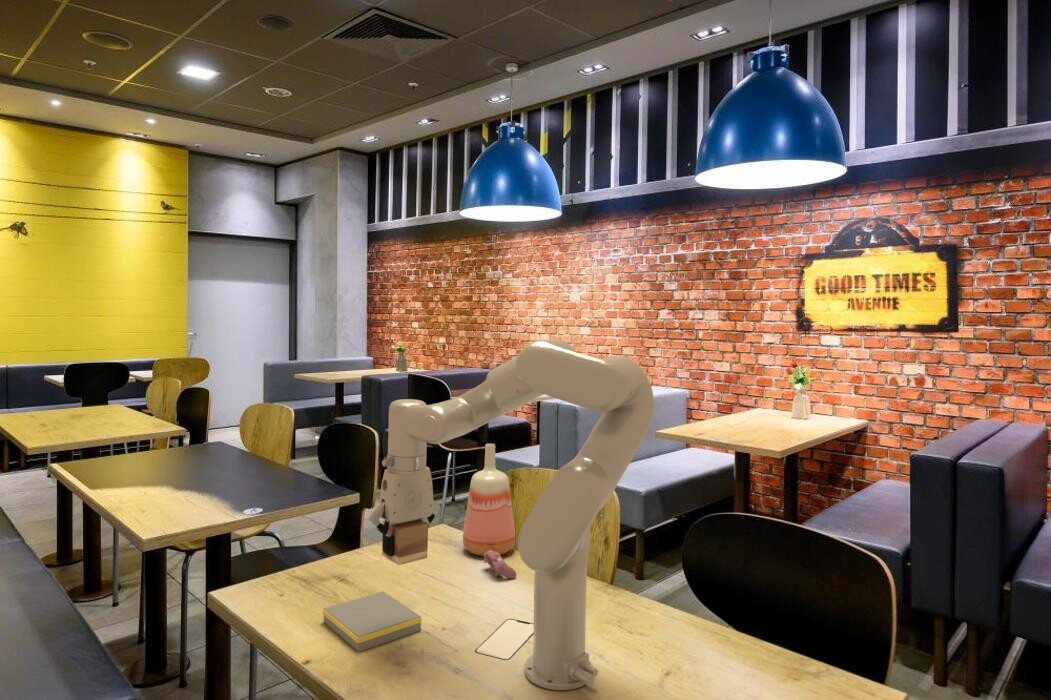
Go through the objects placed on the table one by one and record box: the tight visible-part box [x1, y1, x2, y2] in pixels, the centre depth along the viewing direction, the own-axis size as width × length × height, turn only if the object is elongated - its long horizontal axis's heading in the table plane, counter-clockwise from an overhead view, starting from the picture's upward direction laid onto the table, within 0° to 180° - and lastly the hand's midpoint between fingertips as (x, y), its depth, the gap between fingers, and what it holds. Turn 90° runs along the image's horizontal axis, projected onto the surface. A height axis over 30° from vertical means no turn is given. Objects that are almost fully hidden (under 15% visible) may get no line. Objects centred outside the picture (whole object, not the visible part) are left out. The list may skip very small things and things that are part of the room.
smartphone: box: [474, 618, 534, 661], centre depth 138 cm, size 8×1×16 cm
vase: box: [462, 443, 516, 557], centre depth 186 cm, size 14×14×30 cm
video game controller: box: [482, 550, 517, 580], centre depth 171 cm, size 10×5×7 cm, turn 25°
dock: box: [322, 590, 422, 652], centre depth 142 cm, size 16×14×3 cm
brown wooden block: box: [381, 519, 429, 566], centre depth 136 cm, size 6×6×7 cm
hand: (404, 549), depth 136 cm, fingers closed on brown wooden block, 6 cm apart
